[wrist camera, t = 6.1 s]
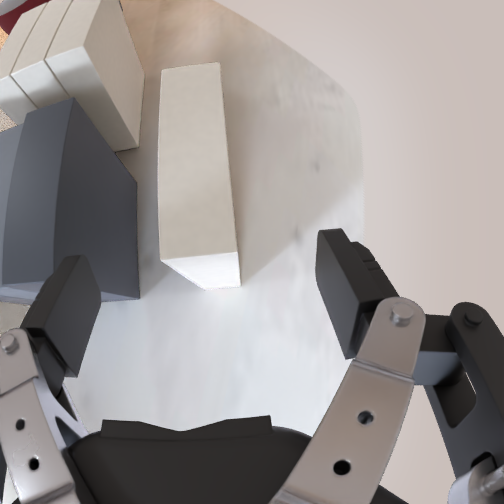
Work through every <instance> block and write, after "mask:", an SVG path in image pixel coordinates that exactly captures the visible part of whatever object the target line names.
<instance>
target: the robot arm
mask: <svg viewBox="0 0 504 504" xmlns="http://www.w3.org/2000/svg"><path fill="white" fill-rule="evenodd" d="M315 273H316V281H317V285H318V288H319V291H320V293H321V296H322V298H323V301H324V304H325V306H326V309H327V311H328V314H329V317H330V319H331V322H332V324H333V327H334V330H335V332H336V335H337V338H338V340H339V343H340V346H341V349H342V351H343V354H344V357H345V360H346V359H351V358H355V359H353V360H352V362H351V364H350V366H349V368H348V370H347V372H346V374H345V376H344V378H343V380H342V382H341V384H340V386H339V388H338V390H337V392H336V394H335V396H334V398H333V400H332V402H331V404H330V406H329V408H328V410H327V412H326V413H325V415H324V417H323V419H322V421H321V423H320V424H319V426H318V428H317V430H316V432H315V433H314V435H313V437H311V436H309V435H306V434H304V433H302V432H299V431H296V430H293V429H289V428H284V427H277V426H272V424H271V417H270V415H268V416H259V417H250V418H239V419H227V420H223V421H220V422H216V423H213V424H209V425H206V426H202V427H198V428H194V429H191V430H187V431H175V430H171V429H166V428H162V427H158V426H155V425H151V424H147V423H143V422H140V421H118V420H103V421H102V427H101V431H98V432H95V433H91V434H89V432H88V431H87V429H86V428H85V426H84V424H83V422H82V420H81V418H80V416H79V414H78V412H77V410H76V408H75V406H74V404H73V401H72V399H71V397H70V395H69V393H68V390H67V388H66V386H65V385H64V384H63V380H64V377H76V378H77V377H78V373H79V370H80V367H81V363H82V360H83V357H84V353H85V350H86V347H87V344H88V341H89V338H90V335H91V332H92V329H93V326H94V323H95V320H96V317H97V314H98V312H99V309H100V306H101V291H100V288H99V285H98V283H97V281H96V278H95V276H94V273H93V271H92V268H91V266H90V263H89V260H88V258H87V257H86V256H85V255H84V254H82V255H73V256H66V257H64V258H63V260H62V261H61V263H60V265H59V266H58V268H57V270H56V271H55V272H54V273H53V274H52V275H51V276H50V277H49V278H47V279H46V280H45V282H44V284H43V285H42V287H41V289H40V293H38V294H37V296H36V298H35V301H33V303H32V305H31V307H30V309H29V310H28V312H27V314H26V316H25V318H24V320H23V322H22V324H21V326H20V328H14V329H11V330H9V331H7V332H5V333H4V334H3V335H2V336H1V337H0V504H2V500H3V491H4V483H5V476H6V470H7V467H8V470H9V473H10V476H11V479H12V481H13V484H14V487H15V490H16V492H17V495H18V498H17V499H16V500H15V501H14V502H13V503H12V504H408V503H407V502H405V501H403V500H402V499H400V498H399V497H397V496H396V495H394V494H393V493H391V492H389V491H388V490H387V489H385V488H384V487H382V486H381V485H379V483H380V481H381V478H382V476H383V474H384V471H385V469H386V467H387V464H388V462H389V459H390V457H391V454H392V452H393V449H394V446H395V444H396V441H397V438H398V436H399V433H400V430H401V427H402V424H403V421H404V418H405V415H406V412H407V409H408V406H409V402H410V399H411V396H412V392H413V389H414V385H423V386H424V388H425V391H426V394H427V396H428V399H429V401H430V404H431V406H432V409H433V412H434V414H435V417H436V420H437V423H438V425H439V428H440V431H441V434H442V437H443V440H444V443H445V446H446V449H447V452H448V455H449V458H450V461H451V464H452V467H453V470H454V474H455V477H456V480H455V481H454V483H453V484H452V486H451V488H450V491H449V495H448V502H447V504H504V337H503V335H502V333H501V332H500V330H499V329H498V327H497V326H496V324H495V322H494V321H493V320H492V318H491V317H490V315H489V314H488V313H487V311H486V310H485V309H483V308H482V307H480V306H479V305H476V304H474V303H469V302H461V303H458V304H456V305H455V306H454V308H453V309H452V311H451V314H450V316H443V315H429V314H425V313H424V311H423V310H422V308H421V307H420V306H419V305H418V304H416V303H415V302H414V301H411V300H409V299H407V298H403V297H400V296H399V295H398V293H397V292H396V290H395V289H394V287H393V285H392V284H391V282H390V281H389V280H388V278H387V276H386V275H385V273H384V272H383V270H382V269H381V267H380V265H379V264H378V262H377V261H375V258H374V256H373V255H372V254H371V252H370V251H369V249H367V248H366V247H364V246H363V245H362V244H360V243H359V242H350V240H349V239H348V237H347V236H346V234H345V233H344V231H343V230H342V229H341V228H339V229H328V230H319V232H318V237H317V253H316V267H315ZM466 373H467V375H468V377H469V379H470V381H471V383H472V385H473V387H474V389H475V392H476V394H475V392H474V390H473V388H472V386H471V383H470V381H469V379H468V377H467V375H466Z"/></svg>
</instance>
